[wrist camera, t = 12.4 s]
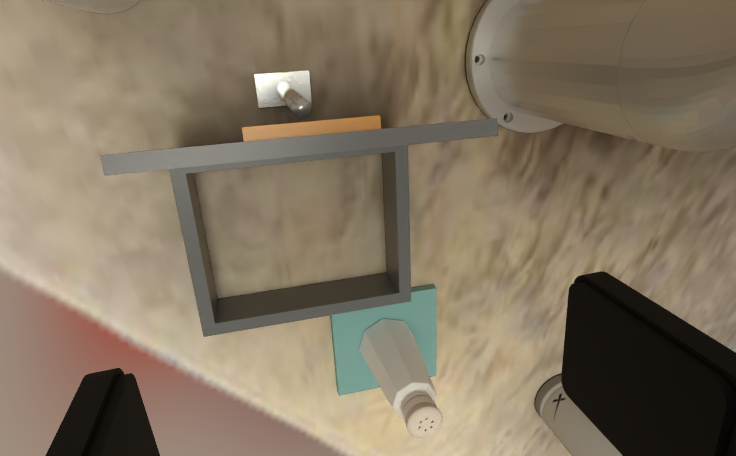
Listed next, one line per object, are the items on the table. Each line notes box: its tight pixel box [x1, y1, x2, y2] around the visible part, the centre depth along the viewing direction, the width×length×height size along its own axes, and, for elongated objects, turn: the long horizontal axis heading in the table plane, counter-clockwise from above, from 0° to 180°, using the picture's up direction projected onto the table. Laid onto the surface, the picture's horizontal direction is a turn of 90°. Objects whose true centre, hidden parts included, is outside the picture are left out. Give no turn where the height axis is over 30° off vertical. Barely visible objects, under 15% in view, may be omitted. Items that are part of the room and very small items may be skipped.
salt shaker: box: [359, 319, 443, 438], centre depth 41 cm, size 5×5×11 cm
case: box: [169, 145, 411, 337], centre depth 39 cm, size 17×14×4 cm
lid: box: [100, 115, 498, 176], centre depth 27 cm, size 17×14×1 cm
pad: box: [331, 284, 436, 396], centre depth 46 cm, size 10×10×1 cm
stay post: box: [254, 70, 312, 119], centre depth 30 cm, size 4×2×13 cm, turn 93°
